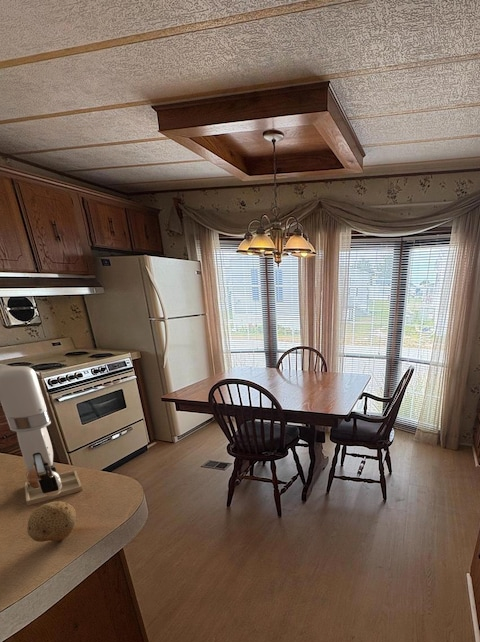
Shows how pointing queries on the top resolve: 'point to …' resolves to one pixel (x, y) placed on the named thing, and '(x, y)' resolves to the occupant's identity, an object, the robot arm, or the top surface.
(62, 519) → the natural sponge
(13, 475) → the top surface
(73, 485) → the cream divided tray
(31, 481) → the brown egg
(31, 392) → the robot arm
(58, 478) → the white egg
